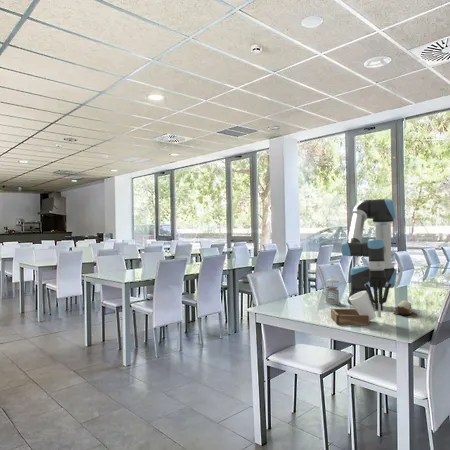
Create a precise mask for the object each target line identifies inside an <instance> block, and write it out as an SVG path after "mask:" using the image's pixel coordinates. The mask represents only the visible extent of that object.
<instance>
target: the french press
mask: <svg viewBox="0 0 450 450" xmlns="http://www.w3.org/2000/svg"><path fill="white" fill-rule="evenodd" d="M330 266H334V263H333V262H331V263H330ZM339 281H340V280H338V279H336V278H333V277H331V278H328V279H326V280H325V282H324V283H322V285H321V287H320V289H321V292H322V294H323V295H325V301H324V304H328V305H340V304H341V302H340V301H339V300H340V299H339V297H340V296H339V294H340V293H339V288H338V286H332V285H331V286H329V285H328V286H326V289H325V293H324V292H323V286H324V285H327V283H339ZM339 303H340V304H339Z"/></svg>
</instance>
